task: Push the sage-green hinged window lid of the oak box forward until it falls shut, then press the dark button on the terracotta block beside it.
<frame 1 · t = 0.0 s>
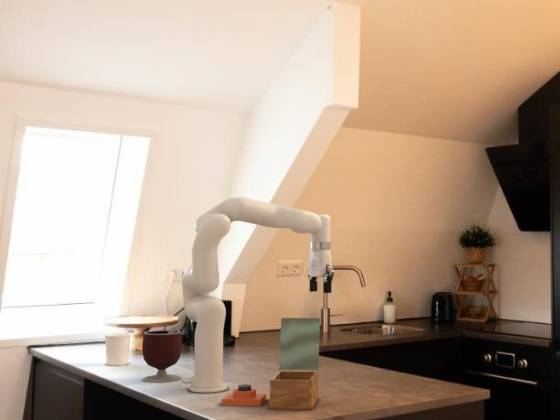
hand: (320, 292, 288), 31 cm above the countertop, tool pointing down, fingers open, 9 cm apart
button: (244, 388, 239), point 4 cm above the countertop, slide at 0.1 cm
button block: (244, 402, 239), on the countertop
mate gourd: (163, 379, 279), on the countertop
window box: (294, 403, 237), on the countertop
candle holder: (117, 364, 313), on the countertop
window lid: (299, 343, 247), point 17 cm above the countertop, hinge at 100.4°
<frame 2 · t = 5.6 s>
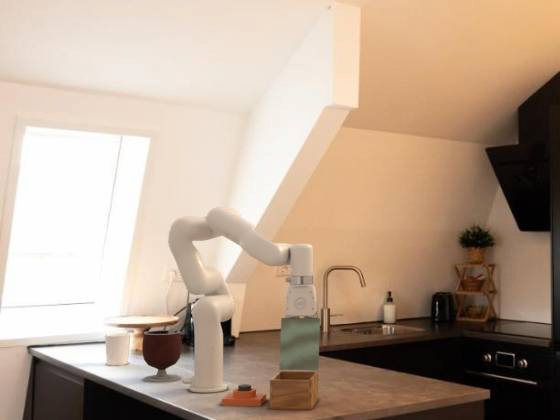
hand: (301, 337, 250), 19 cm above the countertop, tool pointing down, fingers closed
window lid: (299, 343, 247), point 17 cm above the countertop, hinge at 100.9°, touching gripper
everything else where it was.
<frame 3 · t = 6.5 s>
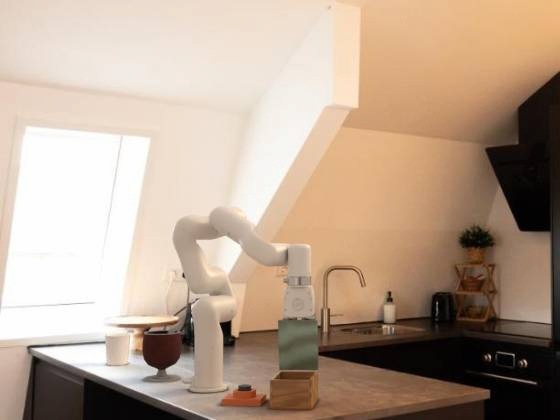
hand: (299, 339, 246), 19 cm above the countertop, tool pointing down, fingers closed
window lid: (298, 345, 244), point 17 cm above the countertop, hinge at 79.6°, touching gripper
everything else where it was.
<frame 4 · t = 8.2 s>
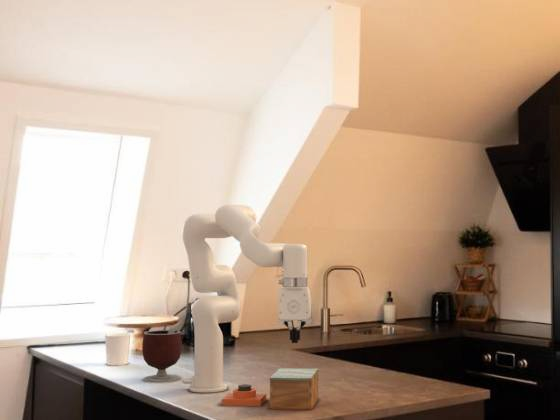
hand: (295, 342, 237), 19 cm above the countertop, tool pointing down, fingers closed
window lid: (294, 374, 237), point 9 cm above the countertop, hinge at -0.1°
everything else where it was.
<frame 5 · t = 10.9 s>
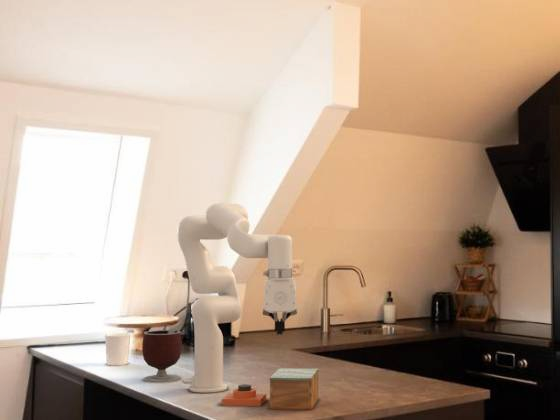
hand: (279, 333, 236), 22 cm above the countertop, tool pointing down, fingers closed
nothing on the countertop moved.
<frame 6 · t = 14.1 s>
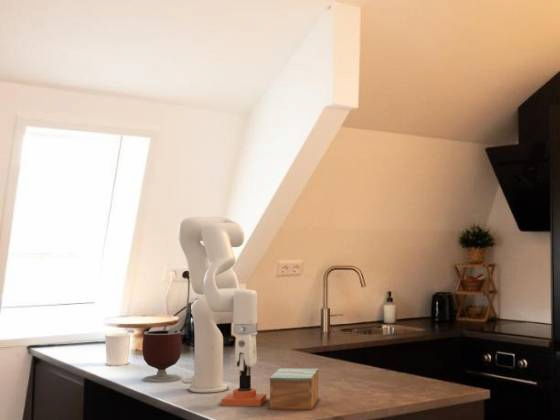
hand: (245, 388, 239), 5 cm above the countertop, tool pointing down, fingers closed
button: (244, 390, 239), point 4 cm above the countertop, slide at -0.7 cm, touching gripper
everything else where it was.
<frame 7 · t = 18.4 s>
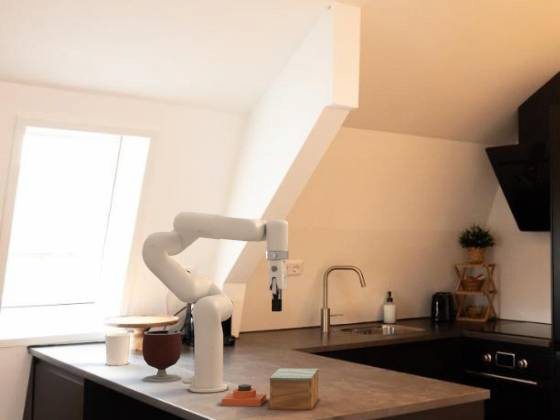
hand: (276, 311, 255), 27 cm above the countertop, tool pointing down, fingers closed
button: (244, 388, 239), point 4 cm above the countertop, slide at 0.1 cm
everything else where it was.
at the end: window lid at +0° (first picture: +100°); button pushed in 1.3 cm at the most during the clip and back out by the end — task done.
